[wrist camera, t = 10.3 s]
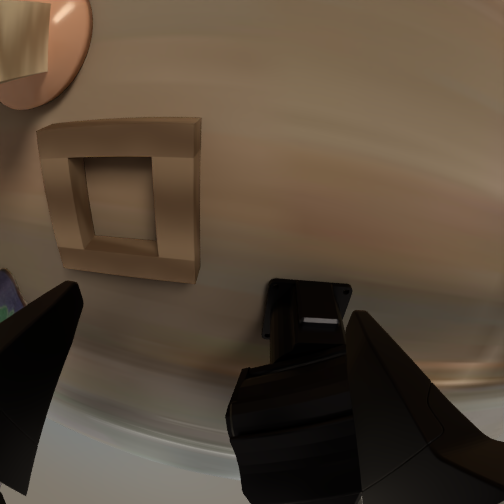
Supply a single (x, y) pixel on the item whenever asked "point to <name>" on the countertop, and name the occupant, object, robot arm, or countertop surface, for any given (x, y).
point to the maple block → (23, 39)
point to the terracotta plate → (55, 56)
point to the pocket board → (164, 189)
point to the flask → (9, 295)
